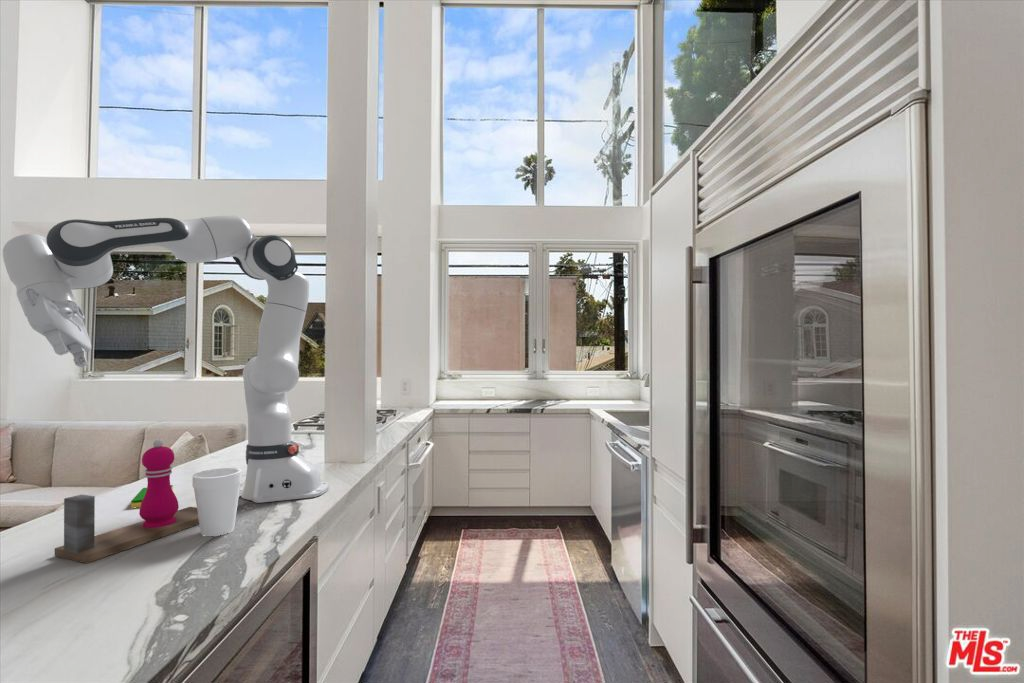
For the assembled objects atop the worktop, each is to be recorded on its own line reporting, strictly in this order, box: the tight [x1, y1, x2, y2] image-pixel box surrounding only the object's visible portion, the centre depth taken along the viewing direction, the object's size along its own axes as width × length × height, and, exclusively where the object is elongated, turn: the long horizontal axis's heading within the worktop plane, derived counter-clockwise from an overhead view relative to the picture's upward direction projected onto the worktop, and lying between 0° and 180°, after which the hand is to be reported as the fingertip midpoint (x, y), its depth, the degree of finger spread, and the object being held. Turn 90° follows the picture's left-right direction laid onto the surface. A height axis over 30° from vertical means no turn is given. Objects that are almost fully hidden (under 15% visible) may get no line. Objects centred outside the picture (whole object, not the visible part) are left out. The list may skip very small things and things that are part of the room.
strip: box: [54, 494, 199, 564], centre depth 111 cm, size 28×10×12 cm, turn 159°
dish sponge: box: [130, 484, 174, 509], centre depth 138 cm, size 7×14×2 cm, turn 26°
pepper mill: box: [139, 439, 180, 528], centre depth 113 cm, size 7×7×20 cm
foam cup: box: [192, 467, 243, 537], centre depth 113 cm, size 10×9×13 cm
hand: (72, 359), depth 108 cm, fingers open, 8 cm apart
